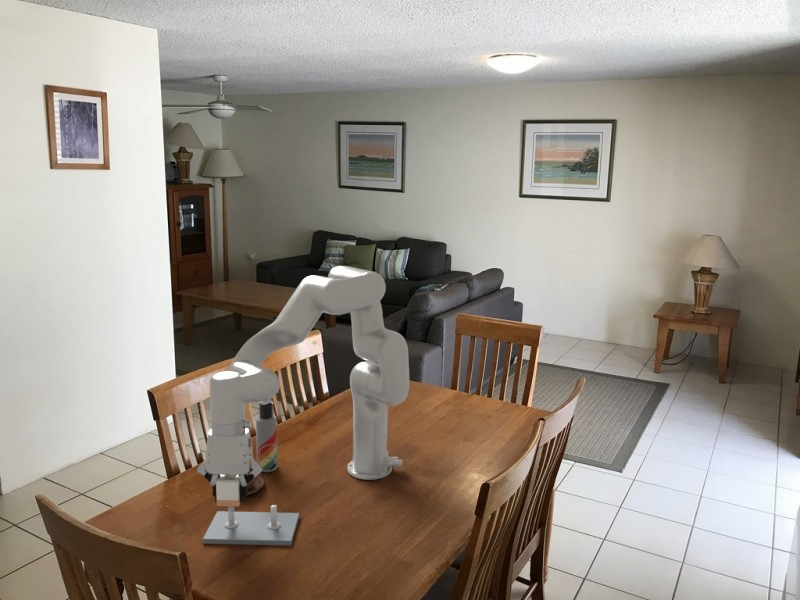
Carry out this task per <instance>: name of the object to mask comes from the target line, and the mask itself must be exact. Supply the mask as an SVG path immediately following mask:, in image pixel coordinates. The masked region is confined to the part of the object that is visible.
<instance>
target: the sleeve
mask: <svg viewBox="0 0 800 600" xmlns="http://www.w3.org/2000/svg"><path fill="white" fill-rule="evenodd" d="M240 485H241V482H240V479H239V476H238V475H222V474H220V476H219V478H218V479H217V481H216V494H217V502H216V507H228V506H234V507H240V505H241V503H242V502H240V493H239V487H240Z"/></svg>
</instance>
